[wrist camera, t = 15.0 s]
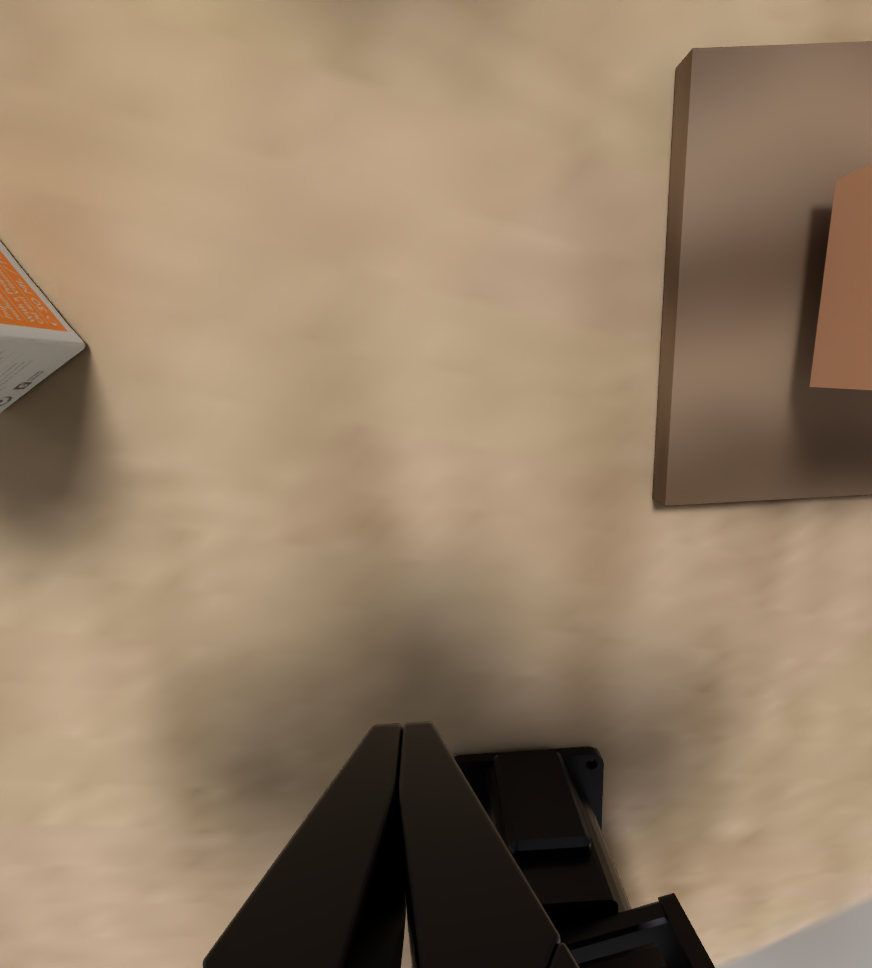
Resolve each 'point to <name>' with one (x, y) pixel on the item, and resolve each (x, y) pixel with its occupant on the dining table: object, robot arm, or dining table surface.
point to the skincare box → (28, 333)
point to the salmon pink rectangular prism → (847, 290)
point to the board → (758, 275)
